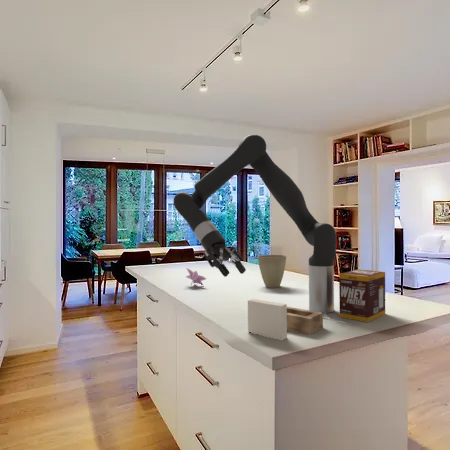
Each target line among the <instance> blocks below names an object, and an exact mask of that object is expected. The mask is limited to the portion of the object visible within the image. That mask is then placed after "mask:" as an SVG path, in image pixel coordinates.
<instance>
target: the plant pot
mask: <svg viewBox="0 0 450 450" xmlns="http://www.w3.org/2000/svg"><path fill="white" fill-rule="evenodd" d="M257 260H258V261H257V262H258V266H259V271H260V274H261V277H262V280H263V283H264V286H265V288H279V287H281V284H282V280H283V277H284V273H285V268H286V264H287V261H286V260H287V255H284V254H264V255H263V254H261V255H257Z"/></svg>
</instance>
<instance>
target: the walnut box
mask: <svg viewBox="0 0 450 450" xmlns="http://www.w3.org/2000/svg"><path fill="white" fill-rule="evenodd" d="M323 314H324V313H322V312H316V311H310V310H309V309H304V308H297V307H291V306H287V331H290V332H297V333H300V334H306V335H312V334H314V333H315V332H317V331H319V330H321V329H323V328H324V327H323V326H324V319H323V317H324V315H323Z"/></svg>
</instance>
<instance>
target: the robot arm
mask: <svg viewBox="0 0 450 450" xmlns="http://www.w3.org/2000/svg"><path fill="white" fill-rule="evenodd" d="M247 166H250V167H251V169H253V170H254V171H255V172H256V173H257V175H258V176H259V177H260V179H261V180H262V182H263V183H264V185H265V187H266V188H267V190H268V192H269V193H270V194H271V195H272V196H273V198H274V199H275V201H276V202H277V203H278V204H279V206H280V207H281V208H282V209H283V210H284V211H285V212H286V214H287V215H288V217H290V219H291V220H292V221H293V222H294V224H295V225H296V226H297V228H298V230H299V231H300V234H302V236H303V238H304V239H305V242H307V243H308V245H310V246H312V247H313V253H312V255H311V256H310V257H309V258H308V310H310V311H316V312H322V313H323V314H325V313H333V312H334V311H335V277H334V276H335V273H334V272H335V269H334V267H335V266H334V263H335V262H334V261H335V259H336V256H337V232H336V230H335V228H334V226H333V225H332V224H329V223H326V222H325V223H324V222H322V223H321V222H319V221H317V219H316V218H315V217H314V216H313V214H312V213H311V212H310V210H309V209H308V207H307V204H306V201H305V197H304V194H303V192H302V191H301V189H300V188H299V187H298V185H297V184H296V183H295V181H294V180H293V179H292V178H291V176H289V175H288V174H287V173H286V172H285V171H284V170H282V168H280V167H279V166H278V165H277V164H276V163H275V162H274V161H273V159H272V158H271V157H270V156H269V154H268V152H267V143H266V141H265V138H263V136H261V135H259V134H249V135H246V136H245V137H243V138H242V139H241V140H240V141H239V145H238V147H237V148H236V149H235V150H234V152H232V154H230V155H229V156H228V157H227V158H226V159H225V160H224V161H222V162H221V163H220V164H218V165H216V166H215V167H213V169H211V170H210V171H208V173H206V174H205V175H204V176H203V177H202V178H200V179H199V180H198V181H197V182H196V183H195V184H194V185H193V187H194V191H193V193H192V194H190V193H188V192H185V191H180V192H178V193H176V195H174V197H173V200H172V203H173V206H174V208H175V209H176V211H177V212H178V213H179V215H180V216H181V217H182V218H183V219H184V220H185V221H186V223H187V224H188V226H189V227H190V229H191V230H192V232H193V234H194V235H195V237H196V238H197V240H198V241H199V244H201V246H202V247H203V249H204V252H203V255H204V256H203V257H204V258H205V259H206V261H207V262H208V264H209V266H210V267H211V268H214V267H215V268H216V269H218V271H219V272H220V273H221V275H222V276H223V277H224V278H225V277H226V278H227V277H228V275H229V274H230V271H229V269H228V267H227V266H226V265H225V264H224V263H223V262H228V263H229V264H230V263H231V264H232V265H234V266H235V268H236V269H237V271H238V272H239V274H244V273H245V272H246V270H247V269H246V268H245V266H244V265H243V263H242V261H243V259H244V258H243V256H242V255H241V254H240V252H238V250H237V249H236V248H235V247H234V246H233V245H232V246H231V247H230V248H229V247H228V246H227V245H226V243H227V242H226V239H225V238H224V236H223V235H222V233H221V232H220V230H218V228H217V226H215V224H213V222H212V221H211V220H210V218H209V217H208V216H207V215H206V213H204V211H202V210H201V208H203V207H204V205H205V204H206V202H207V201H208V199H209V198H210V197H211V196H212V195H214V194H215V193H216V192H218V190H220V189H221V188H222V187H223V186H224V185H225V184H226V183H227V182H228V181H230V179H232V178H233V177H234V176H235V175H236V174H238V173H239V172H240V171H242V170H243V169H245V167H247Z"/></svg>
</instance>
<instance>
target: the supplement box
mask: <svg viewBox="0 0 450 450" xmlns="http://www.w3.org/2000/svg"><path fill="white" fill-rule="evenodd" d="M338 275H339V276H338V278H339V281H338V283H339V287H338V289H339V291H338V292H339V318H345V319H350V320H353V321H354V320H355V321H358V322H359V321H360V322H363V323H364V322H365V323H369V322H372V321H373V320H375V319H378V318H380V317H382V316H384V315H386V271H381V270H373V269H372V270H369V269H361V268H360V269H358V268H357V269H354V270H350V271H346V272H345V271H344V272H340V273H339V274H338Z"/></svg>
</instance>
